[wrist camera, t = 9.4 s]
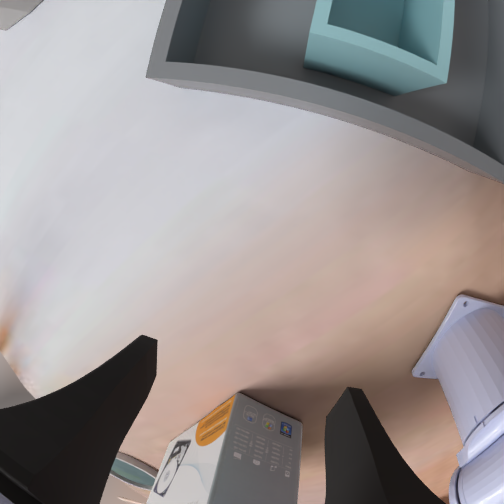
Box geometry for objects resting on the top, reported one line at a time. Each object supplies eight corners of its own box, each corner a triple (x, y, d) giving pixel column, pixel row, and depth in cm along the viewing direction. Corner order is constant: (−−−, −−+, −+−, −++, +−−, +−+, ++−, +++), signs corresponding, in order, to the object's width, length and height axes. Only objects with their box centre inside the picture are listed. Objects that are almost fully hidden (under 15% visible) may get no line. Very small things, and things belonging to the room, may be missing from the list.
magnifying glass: (270, 506, 38) (269, 515, 36) (109, 468, 41) (105, 475, 39) (280, 482, 32) (278, 494, 31) (85, 434, 35) (80, 443, 34)
